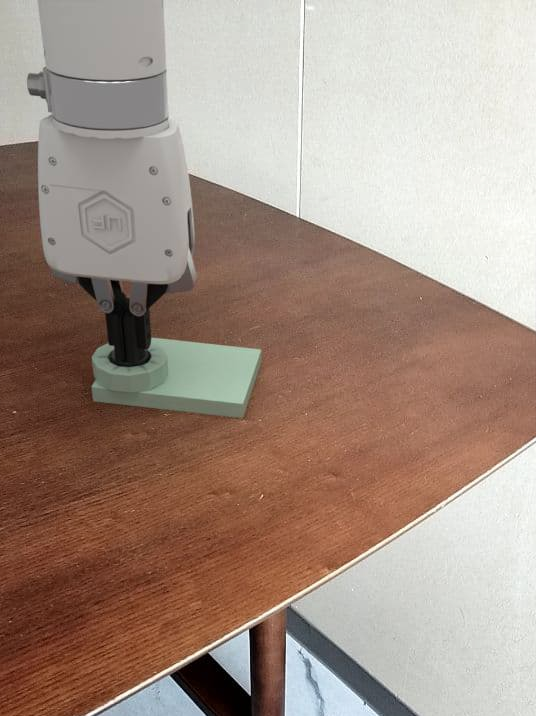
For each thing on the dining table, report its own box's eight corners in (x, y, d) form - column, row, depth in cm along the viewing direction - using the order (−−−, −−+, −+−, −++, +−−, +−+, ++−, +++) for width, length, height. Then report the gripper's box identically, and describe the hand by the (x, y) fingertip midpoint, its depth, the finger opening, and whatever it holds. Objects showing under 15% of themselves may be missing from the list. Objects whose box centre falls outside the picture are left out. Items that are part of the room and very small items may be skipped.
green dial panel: (87, 403, 68) (82, 369, 66) (120, 348, 75) (117, 316, 73) (242, 421, 67) (242, 387, 65) (261, 363, 74) (262, 331, 72)
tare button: (108, 378, 68) (106, 360, 67) (118, 361, 70) (117, 343, 69) (143, 382, 68) (142, 364, 67) (152, 365, 70) (151, 347, 69)
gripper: (-26, 103, 54) (21, 367, 65) (211, 125, 53) (215, 389, 65) (19, 76, 59) (54, 324, 71) (233, 95, 58) (234, 342, 70)
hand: (131, 354), depth 68 cm, fingers closed
